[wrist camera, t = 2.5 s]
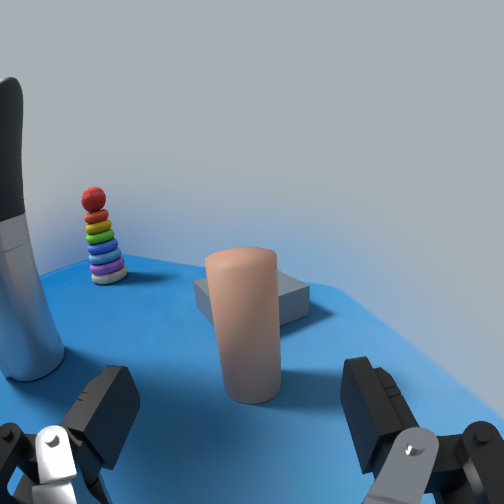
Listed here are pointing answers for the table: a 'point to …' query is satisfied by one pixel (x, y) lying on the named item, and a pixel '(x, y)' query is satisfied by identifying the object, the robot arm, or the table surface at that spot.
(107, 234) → the stacking toy
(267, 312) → the terracotta peg
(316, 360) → the table surface
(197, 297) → the slate base block
